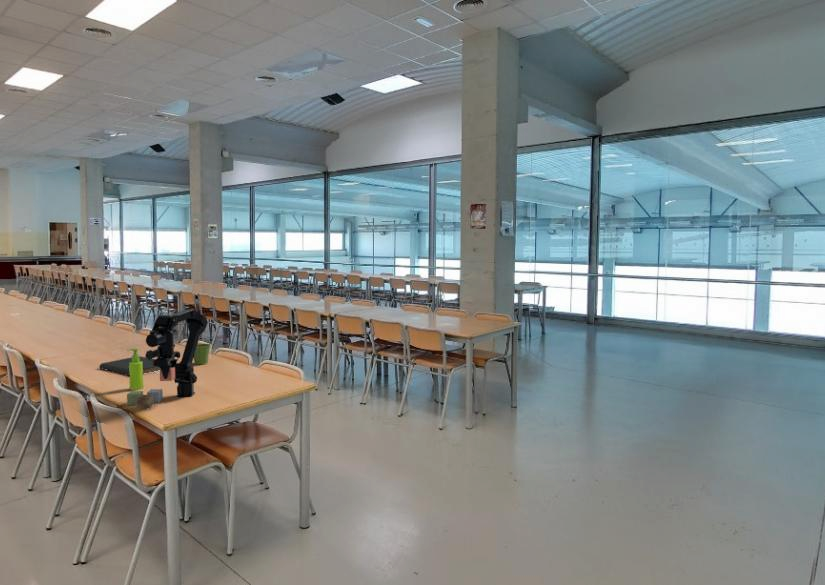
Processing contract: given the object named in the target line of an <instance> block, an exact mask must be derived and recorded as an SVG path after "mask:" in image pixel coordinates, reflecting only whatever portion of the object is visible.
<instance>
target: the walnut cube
mask: <svg viewBox="0 0 825 585" xmlns="http://www.w3.org/2000/svg"><path fill="white" fill-rule="evenodd" d="M152 405H153V406H154V403H153V395H147V394H143V395H140V396H139V397H137V405H136V409H137V410H142V409H141V408H149V409H151V408H152V407H153V406H152ZM151 406H152V407H151ZM150 407H151V408H150Z"/></svg>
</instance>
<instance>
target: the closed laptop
mask: <svg viewBox="0 0 825 585" xmlns="http://www.w3.org/2000/svg"><path fill="white" fill-rule="evenodd" d="M139 358H140V361H141V362H142V363H143V374H144V373H149V372H154V371H158V370H160V368H159V367H158V366H153V361H154V360H155V359H156V358H152V359H151V360H148V358H146V357H145V356H140V355H139ZM130 362H132V356H131V357H127V358H123V359H116V360H112V361H107V362H102V363H101V364H99V369H100V368H103V369H102V370H104V369H107V370H106V371H108V370H111V371H110V372H112V371H114V372H113V373H116V372H119V373H118V374H121V373H123V374H122V375H125V374H127V375H126V376H129V375H130V374H129V363H130ZM158 372H159V371H158ZM154 373H155V372H154ZM149 374H150V373H149ZM144 375H145V374H144Z"/></svg>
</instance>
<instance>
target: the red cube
mask: <svg viewBox="0 0 825 585" xmlns="http://www.w3.org/2000/svg"><path fill="white" fill-rule="evenodd" d="M174 379H175V367H171V368H170V371H169V374H168V377H167V379H164V377H163V374H162V371H161V369H160V371H159V381H160V382H172V381H173V380H174Z"/></svg>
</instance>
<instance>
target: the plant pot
mask: <svg viewBox="0 0 825 585" xmlns="http://www.w3.org/2000/svg"><path fill="white" fill-rule="evenodd" d="M211 346H212V344H211V343H198V344H197V347H196V351H195V354H194V358H193V362H194V364H195V365H197V364H199V365H202V364H203V365H206V364H205V363H207V364H208V361H209V355H210V350H211Z"/></svg>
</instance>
